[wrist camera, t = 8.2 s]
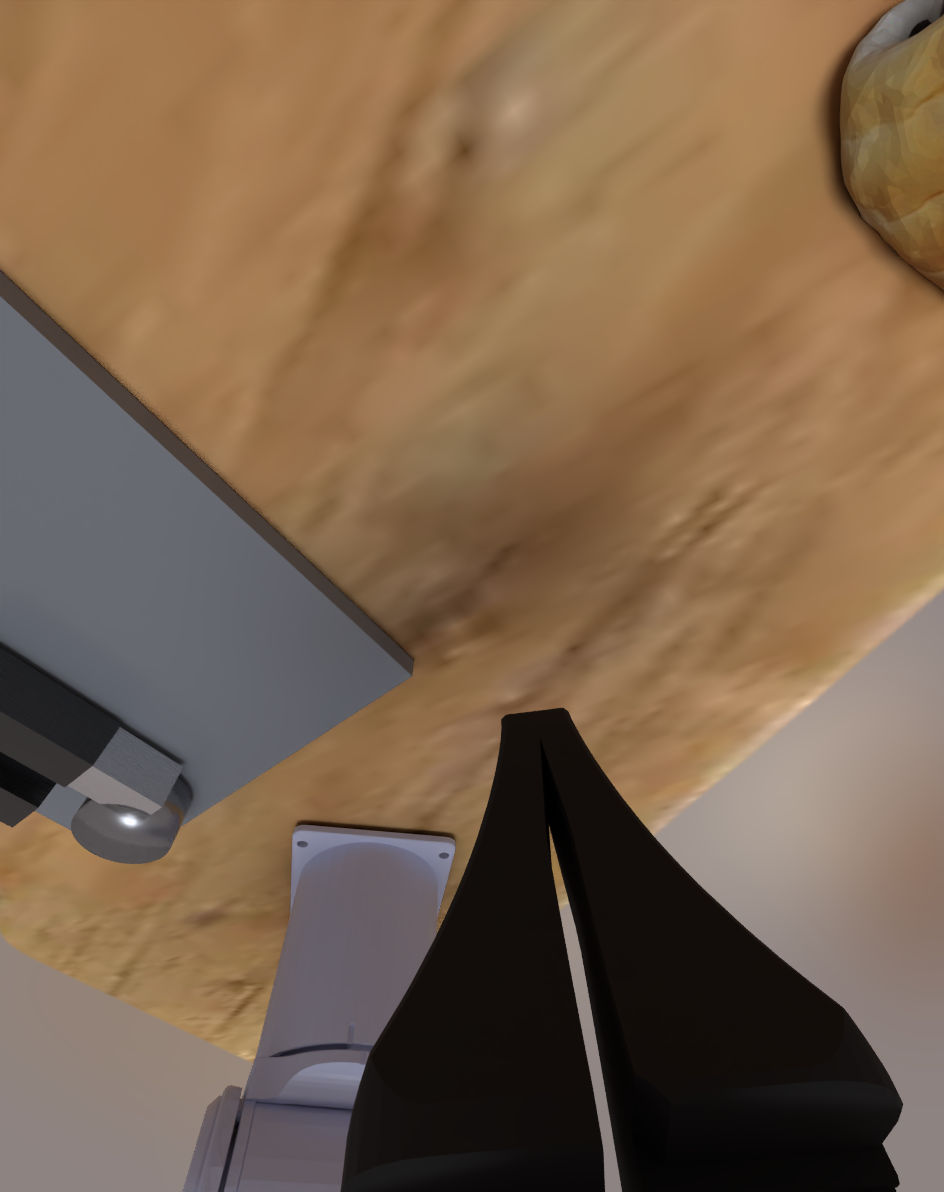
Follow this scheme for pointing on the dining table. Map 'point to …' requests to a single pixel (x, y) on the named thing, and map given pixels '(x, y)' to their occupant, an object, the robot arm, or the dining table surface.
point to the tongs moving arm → (92, 766)
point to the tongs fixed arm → (20, 790)
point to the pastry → (899, 132)
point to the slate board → (160, 580)
